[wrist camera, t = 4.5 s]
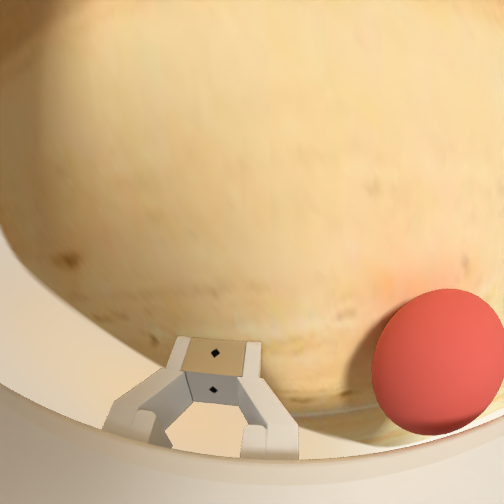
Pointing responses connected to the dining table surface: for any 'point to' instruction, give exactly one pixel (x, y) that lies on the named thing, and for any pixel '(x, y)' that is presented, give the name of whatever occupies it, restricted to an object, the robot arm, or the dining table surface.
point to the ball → (439, 362)
